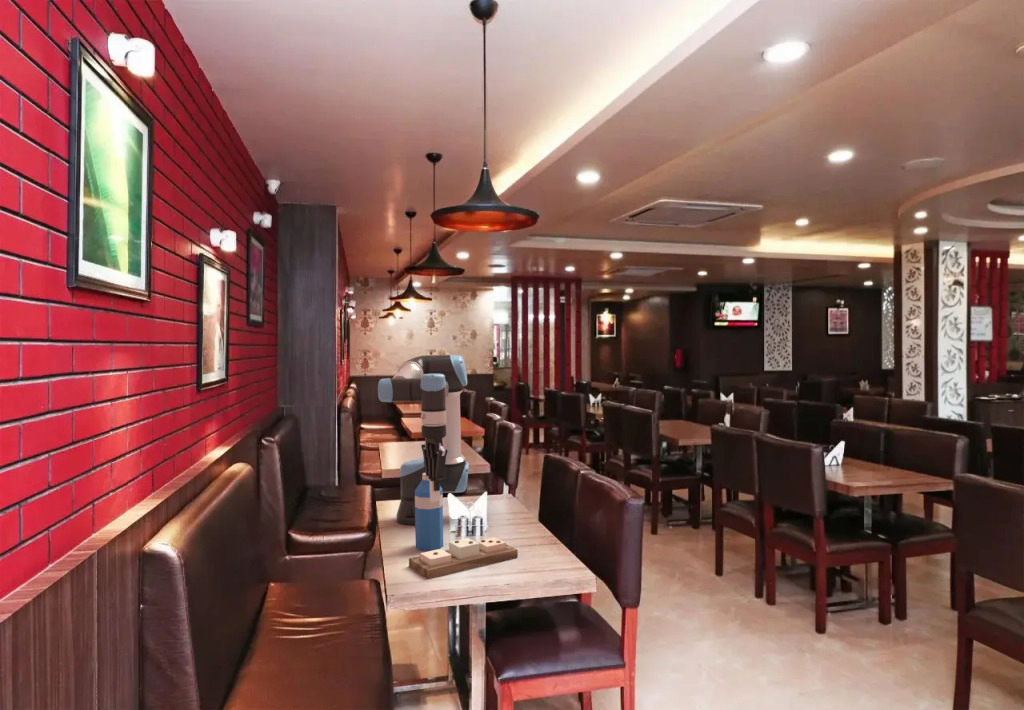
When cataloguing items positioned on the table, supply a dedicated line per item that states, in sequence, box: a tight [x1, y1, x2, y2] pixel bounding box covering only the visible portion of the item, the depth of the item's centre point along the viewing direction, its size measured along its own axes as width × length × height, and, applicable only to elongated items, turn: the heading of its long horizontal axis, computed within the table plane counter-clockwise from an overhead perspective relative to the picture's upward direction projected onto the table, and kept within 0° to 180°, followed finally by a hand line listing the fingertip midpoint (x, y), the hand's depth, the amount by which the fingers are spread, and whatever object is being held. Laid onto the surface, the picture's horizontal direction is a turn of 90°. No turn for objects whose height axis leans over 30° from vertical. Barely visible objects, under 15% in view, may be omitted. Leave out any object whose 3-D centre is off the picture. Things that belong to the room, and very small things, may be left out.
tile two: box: [448, 537, 479, 560], centre depth 207 cm, size 7×7×4 cm
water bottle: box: [414, 473, 444, 552], centre depth 222 cm, size 9×9×25 cm
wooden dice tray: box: [408, 544, 519, 580], centre depth 207 cm, size 13×32×2 cm, turn 124°
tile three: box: [475, 536, 507, 553], centre depth 212 cm, size 7×7×4 cm
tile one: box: [419, 548, 451, 567], centre depth 201 cm, size 7×7×4 cm
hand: (435, 500), depth 201 cm, fingers closed
